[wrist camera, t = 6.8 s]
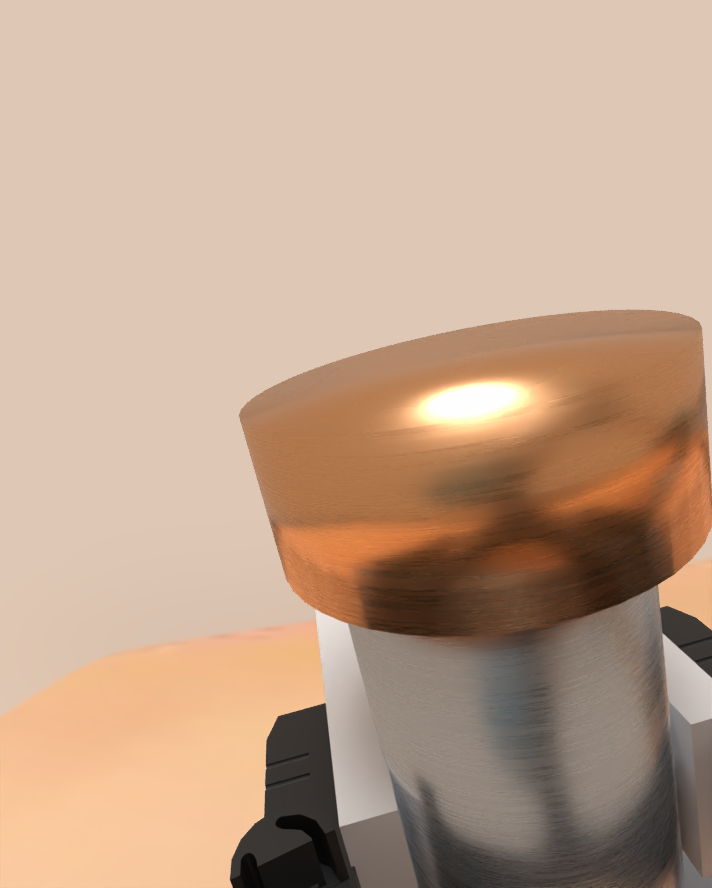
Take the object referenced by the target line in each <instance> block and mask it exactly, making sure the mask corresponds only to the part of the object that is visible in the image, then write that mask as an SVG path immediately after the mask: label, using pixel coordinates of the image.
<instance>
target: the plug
mask: <svg viewBox="0 0 712 888" xmlns="http://www.w3.org/2000/svg"><path fill="white" fill-rule="evenodd" d="M239 417H240V421H241V424H242V428H243V431H244V434H245V438H246V442H247V445H248V449H249V452H250V456H251V459H252V462H253V466H254V469H255V473H256V476H257V480H258V483H259V487H260V490H261V494H262V497H263V500H264V504H265V507H266V511H267V514H268V518H269V521H270V525H271V528H272V531H273V535H274V538H275V542H276V545H277V549H278V552H279V556H280V559H281V562H282V566H283V570H284V573H285V576H286V579H287V581H288V583H289V584H290V586H291V588H292V589H293V591H294V592H295V593H296V594H297V595H298V596H299V597H300V598H301V599H302V600H303V601H304V602H305V603H307V604H309V605H310V606H312V607H313V608H315V609H316V610H318V611H320V612H321V613H323V614H326V615H328V616H330V617H333V618H335V619H337V620H340V621H342V622H345V623H348V626H349V630H350V634H351V638H352V642H353V645H354V649H355V653H356V657H357V661H358V664H359V668H360V672H361V676H362V680H363V683H364V687H365V691H366V695H367V699H368V702H369V706H370V710H371V714H372V718H373V721H374V725H375V729H376V733H377V737H378V740H379V744H380V748H381V752H382V754H383V757H384V760H385V762H386V765H387V766H388V769H389V772H390V776H391V780H392V784H393V788H394V792H395V795H396V799H397V803H398V807H399V811H400V815H401V818H402V822H403V826H404V830H405V834H406V838H407V841H408V845H409V849H410V853H411V857H412V860H413V864H414V868H415V872H416V876H417V880H418V883H419V887H420V888H686V887H685V877H684V866H683V855H682V844H681V833H680V822H679V811H678V800H677V789H676V778H675V767H674V756H673V745H672V734H671V723H670V712H669V701H668V690H667V679H666V668H665V658H664V647H663V636H662V625H661V614H660V603H659V592H658V584H660V583H661V582H663V581H664V580H666V579H668V578H669V577H671V576H672V575H674V574H675V573H676V572H677V571H678V570H680V569H681V568H682V567H683V566H684V565H685V564H686V563H688V562H689V561H690V560H691V559H692V558H693V557H694V556H695V554H696V553H697V552H698V551H699V549H700V548H701V547H702V545H703V544H704V543H705V541H706V538H707V536H708V534H709V531H710V529H711V527H712V488H711V471H710V456H709V438H708V421H707V404H706V388H705V372H704V354H703V337H702V327H701V325H700V323H699V322H698V321H696V320H695V319H693V318H691V317H689V316H685V315H682V314H678V313H672V312H665V311H652V310H608V311H590V312H579V313H568V314H558V315H548V316H541V317H533V318H526V319H519V320H512V321H506V322H500V323H494V324H488V325H483V326H477V327H472V328H466V329H461V330H456V331H451V332H446V333H441V334H437V335H432V336H428V337H423V338H419V339H415V340H411V341H406V342H402V343H398V344H395V345H391V346H387V347H383V348H379V349H376V350H372V351H368V352H365V353H362V354H358V355H355V356H352V357H348V358H345V359H342V360H339V361H336V362H333V363H330V364H327V365H324V366H321V367H318V368H315V369H313V370H310V371H307V372H305V373H302V374H300V375H297V376H295V377H292V378H290V379H288V380H286V381H283V382H281V383H279V384H277V385H275V386H273V387H271V388H269V389H267V390H265V391H264V392H262V393H260V394H259V395H257V396H255V397H254V398H253V399H252V400H250V401H249V402H248V403H247V404H246V405H245V406H244V407H243V408H242V409H241V412H240V414H239Z"/></svg>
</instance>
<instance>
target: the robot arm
mask: <svg viewBox="0 0 712 888" xmlns="http://www.w3.org/2000/svg"><path fill="white" fill-rule="evenodd" d="M315 610H316V609H315ZM660 614H661V625H662V636H663V647H664V658H665V668H666V679H667V690H668V701H669V712H670V723H671V734H672V745H673V756H674V767H675V778H676V789H677V800H678V811H679V822H680V833H681V844H682V850H683V851H684V853H685V854H686V855H687V857H688V858H689V860H690V861H691V862H692V864H693V865H694V867H695V868H696V869H697V871H698V872H699V874H700V875H701V876H702V878H703V879H704V878H707V877H710V876H712V630H711V629H709V628H708V627H707V626H706V625H704V624H703V623H702V622H701V621H699V620H698V619H697V618H695V617H693V616H690V615H688V614H685V613H683V612H681V611H678V610H676V609H673V608H671V607H669V606H666V607H662V608H660ZM316 620H317V629H318V638H319V647H320V656H321V665H322V674H323V683H324V692H325V701H326V703H324V704H321V705H317V706H314V707H310V708H306V709H303V710H299V711H296V712H292V713H288V714H285V715H281V716H278V718H277V720H276V722H275V724H274V726H273V728H272V730H271V732H270V734H269V736H268V738H267V744H266V768H267V769H266V779H265V786H266V790H265V814H264V818H263V819H261V820H260V821H258V822H257V823H255V824H254V825H253V827H252V828H251V829H250V830H249V831H248V832H247V833H246V835H245V836H244V837H243V838H242V839H241V840H240V843H239V845H238V847H237V849H236V851H235V854H234V856H233V858H232V862H231V874H230V881H231V884H232V886H233V888H420V887H419V883H418V880H417V876H416V872H415V868H414V864H413V860H412V857H411V853H410V849H409V845H408V841H407V838H406V834H405V830H404V826H403V822H402V818H401V815H400V811H399V807H398V803H397V799H396V795H395V792H394V788H393V784H392V780H391V776H390V772H389V769H388V766H387V765H386V762H385V760H384V757H383V754H382V752H381V748H380V744H379V740H378V737H377V733H376V729H375V725H374V721H373V718H372V714H371V710H370V706H369V702H368V699H367V695H366V691H365V687H364V683H363V680H362V676H361V672H360V668H359V664H358V661H357V657H356V653H355V649H354V645H353V642H352V638H351V634H350V630H349V626H348V623H345V622H342V621H340V620H337V619H335V618H333V617H330V616H328V615H326V614H323V613H321V612H320V611H318V610H316Z"/></svg>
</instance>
